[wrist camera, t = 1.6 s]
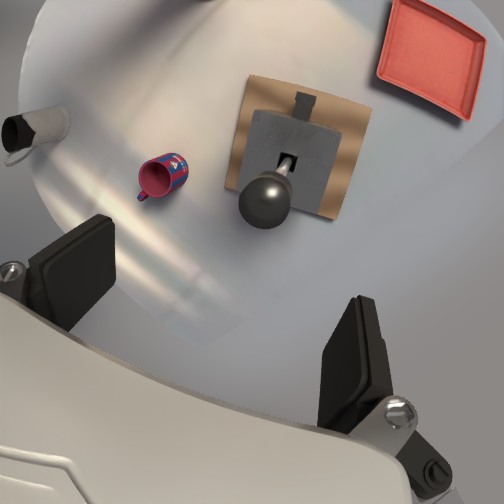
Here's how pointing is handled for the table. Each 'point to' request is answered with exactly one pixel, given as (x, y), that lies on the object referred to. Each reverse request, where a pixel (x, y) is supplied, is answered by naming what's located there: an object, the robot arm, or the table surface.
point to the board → (325, 111)
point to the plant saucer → (433, 56)
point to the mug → (162, 175)
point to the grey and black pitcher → (34, 129)
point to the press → (292, 150)
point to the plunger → (268, 195)
